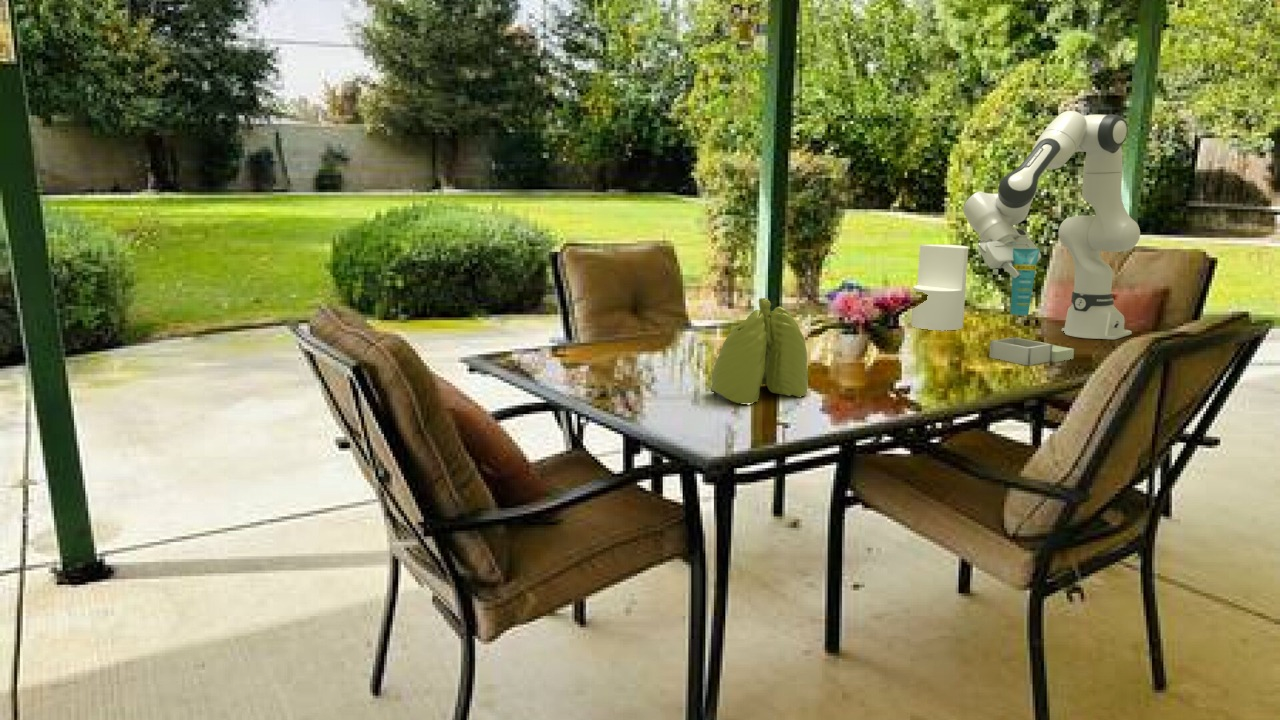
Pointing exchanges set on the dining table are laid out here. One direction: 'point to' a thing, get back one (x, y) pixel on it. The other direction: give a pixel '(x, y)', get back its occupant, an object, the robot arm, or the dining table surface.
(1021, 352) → the grey open tray
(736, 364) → the lungs
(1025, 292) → the tube
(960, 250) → the white chair
